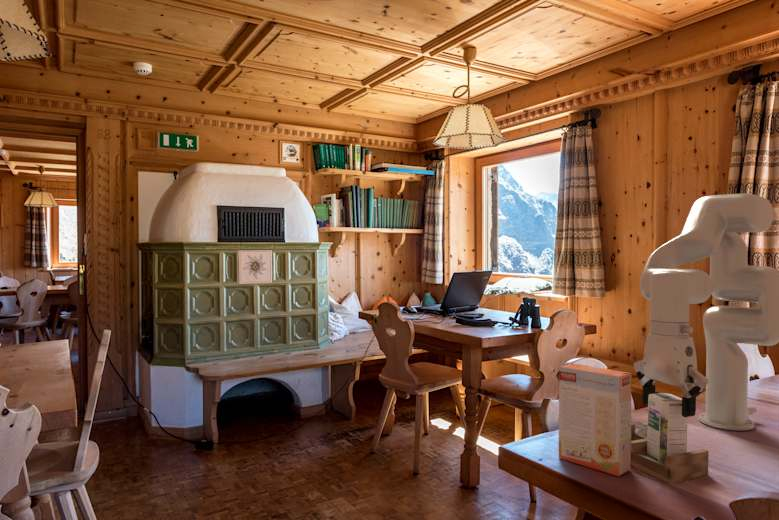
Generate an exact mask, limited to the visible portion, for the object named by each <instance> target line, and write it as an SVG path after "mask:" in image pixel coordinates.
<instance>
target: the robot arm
mask: <svg viewBox="0 0 779 520" xmlns="http://www.w3.org/2000/svg"><path fill="white" fill-rule="evenodd" d="M774 217H775V216H774V209H773V204H772V203H771V202H770V200H769V199H767V198H765V197H764V196H761V195H758V194H752V193H728V194H711V195H705V196H702V197H700V198H698V199H696V200H695V202H693V204H692V206H691V208H690V209H689V213H688V216H687V217H686V219H685V223H684V225H683V227H682V230H681V231H680V235H678V236H676V237H673V238H671V239H670V240H669V241H667V242H666V243H664V244H662V245H661V246H659V247H658V248H657V249H655V250H654V251H653V252H652V253H651V254H650V255H649V257H648V259H647V261H646V263H645V265H644V267H643V270H642V272H641V276H640V279H639V291H640V293H641V295H642V297H644V298H645V299H647V300H648V301H649V317H648V318H649V320H648V321H649V324H648V325H649V327H648V329H649V330H648V332H649V333H647V335H646V338H645V342H644V350H643V359H640V360H638V361H637V360H636V361H635V362H633V368H634V370H635V372H636V373H635V374H636V377H637V378H638V380H639V384H640V386H642V397H641V398H642V402H641V403H642V405H645V406H646V405H648V395H649V394H655V393H656V384H654V383H655V382H660V383H664V384H667V385H671V386H675V387H679V389H680V390H681V392H682V394H683V395H684V396H682V398H681V399H682V416H683V417H688V418H689V417H695V416H696V411H697V398H698V397H699V396H700V395H701V394H702V393H703V392H704V391H705V412H702V413H701V414H699V415H698V420H699V421H700V422H701V423H703V424H704V425H706V426H708V427H712V428H717V429H720V430H725V431H726V430H728V431H738V432H740V431H741V432H742V431H750V430H753V429H755V423H754V421H752V419H749V416H751V415H755V414H757V411H758V410H757V408H756V407H754V406H750V407H749V406H748V383H749V382H748V380H749V379H748V375H749V361H748V357H747V355H746V354H745V352H744V350H743V349H742V348H741V347H740V345H739V344H747V345H754V346H756V345H757V346H763V347H767V346H768V347H770V346H772V347H773V346H775V345H777V344H779V271H778V270H777V269H776V268H774V267H771V266H766V265H759V266H758V265H749V264H748V246H747V244H746V242H745V241H744V239H742V237H741V236H740V235H739V233H764V232H765V231H767V230H768V229H770V227H771V226H772V224H773V221H774ZM707 258H709V274H708V273H707V272H706V271H704V270H701V269H694V268H693V269H692V268H689V269H688V268H678V267H679V266H684V265H687V264H691V263H695V262H698V261H702V260H703V259H707ZM711 296H712V297H713V298H714V299H717V300H721V301H727V302H737V303H738V302H742V303H753V304H757V305H758V307H745V306H737V305H734V306H733V305H715V306H711V307H709V308H708V309H706V310H705V312H704V313H703V317H702V325H703V333H704V338H705V349H706V351H705V352H706V355H705V356H706V357H705V359H706V361H705V362H706V363H705V365H706V366H705V367H706V369H705V375H703V374H702V373H701V372H700V371H699V370H698V362H697V360H698V359H697V351H696V347H695V342H694V338H693V337H691V336H690V334H692V333H694V328H693V326H691V325H690V304H694V305H697V304H702V303H705V302H706V301H708V300H709V298H710V297H711Z"/></svg>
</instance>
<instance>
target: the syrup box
mask: <svg viewBox="0 0 779 520" xmlns="http://www.w3.org/2000/svg"><path fill="white" fill-rule="evenodd" d="M688 418H689V417H683V416H682V398H681V397H679V396H676V395H674V394H672V393H666V392H665V393H664V392H660V393H659V392H655V394H649V395H648V404H647V424H648V432H647V436H646V437H647V457H649V458H651V459H654V460H656V461H659V462H661V463H663V464H665V457H667V456H672V455H677V454H681V453H686V452H688V450H687V449H688Z"/></svg>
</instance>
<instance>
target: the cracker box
mask: <svg viewBox="0 0 779 520" xmlns="http://www.w3.org/2000/svg"><path fill="white" fill-rule="evenodd" d="M558 370H559V371H558V373H559V374H558V376H559V377H558V378H559V380H558V385H559V386H558V459H561V460H564V461H568V462H570V463H573V464H578V465H580V466H583V467H588V468H590V469H593V470H596V471H599V472H603V473H606V474H610V475H612V476H615V477H620V476H621V475H624V474H626V473H628V472H629V471H631V469H632V466H631V421H632V373H631V372H627V371H620V370H615V369H609V368H604V367H603V368H602V367H597V366H591V365H584V364H578V363H568V364H565V365H560V366H559V368H558Z"/></svg>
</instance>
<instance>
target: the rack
mask: <svg viewBox="0 0 779 520" xmlns="http://www.w3.org/2000/svg"><path fill="white" fill-rule="evenodd" d="M632 467H633V468H635V469H637V470H639V471H642V472H644V473H645V474H648V475H650V476H652V477H655V478H657V479H659V480H661V481H662V482H663V481H664V482H665V483H668V484H670V485H671V484H676V483H679V482H684V481H688V480H692V478H693V479H696V477H697V478H701V477H705V476H709V450H707V449H704V448H702V449H695V450H691V451H687V452H686V453H681V454H677V455H672V456H667V457H665V464H663V463H661V462H659V461H656V460H654V459H651V458H649V457H647V436H643V435H640V434H638V433H637V432H636V427H635V424H633V423H631V468H632Z"/></svg>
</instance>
